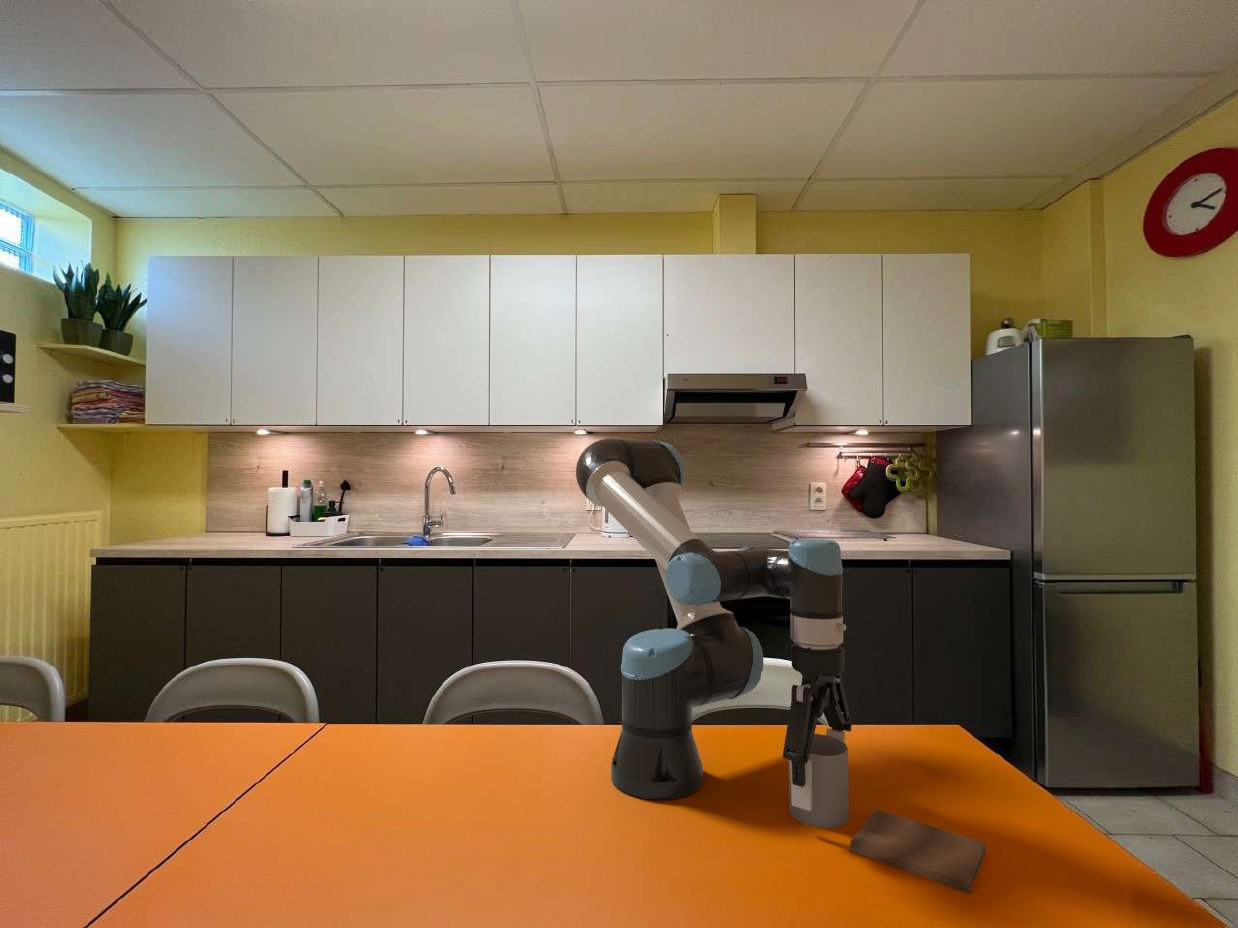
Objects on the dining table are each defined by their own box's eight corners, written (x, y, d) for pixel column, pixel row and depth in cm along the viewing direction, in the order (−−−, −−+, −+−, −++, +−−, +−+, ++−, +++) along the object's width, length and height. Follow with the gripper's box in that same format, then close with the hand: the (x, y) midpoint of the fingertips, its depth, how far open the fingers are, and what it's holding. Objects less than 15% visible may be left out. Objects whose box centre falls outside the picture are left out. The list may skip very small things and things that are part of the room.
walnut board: (850, 850, 83) (850, 841, 83) (875, 817, 92) (875, 808, 92) (969, 893, 74) (969, 883, 74) (985, 852, 83) (985, 842, 83)
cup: (852, 831, 88) (851, 758, 88) (791, 824, 90) (791, 753, 90) (843, 801, 96) (842, 735, 97) (787, 796, 98) (787, 731, 98)
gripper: (808, 665, 82) (812, 832, 81) (869, 632, 101) (872, 767, 100) (756, 656, 87) (758, 814, 85) (823, 626, 106) (826, 755, 105)
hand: (820, 789), depth 93 cm, fingers open, 13 cm apart
